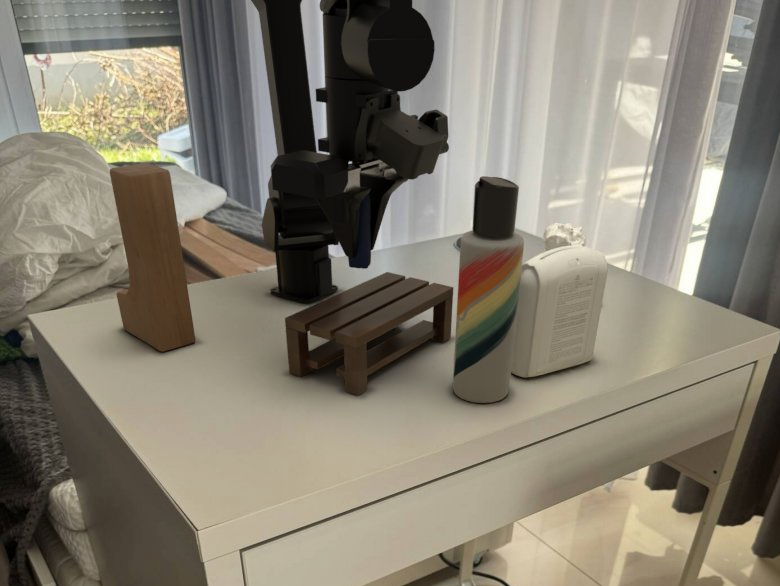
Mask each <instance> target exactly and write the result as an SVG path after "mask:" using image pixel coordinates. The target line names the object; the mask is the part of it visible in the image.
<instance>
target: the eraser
mask: <svg viewBox="0 0 780 586" xmlns="http://www.w3.org/2000/svg"><path fill="white" fill-rule="evenodd" d="M370 220H371V207H370V195H369V194H367V196H366V197H365V198H364V199H363V201H362V202H361V203H360V207H359V228H358V245H357V253H356V257H354V258H351V257H347V259H348V260H347V261H348V267H349V268H352V269H353V268H354V269H363V270H364V269H365V270H366V269H368V268H369V267H370V266H371V263H372V250H371V230H370Z"/></svg>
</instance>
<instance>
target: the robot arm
mask: <svg viewBox="0 0 780 586" xmlns="http://www.w3.org/2000/svg"><path fill="white" fill-rule="evenodd" d="M250 1H251V3H252V4H253V5H254V8H255V9H256V10H257V12H258V18H259V24H260V31H261V40H262V46H263V55H264V61H265V71H266V77H267V86H268V93H269V100H270V109H271V115H272V123H273V132H274V138H275V146H276V147H275V148H276V153H277V155H276V157H275V158H274V160H273V161H272V163H271V164H270V177H269V179H268V182H267V189H268V197H267V199H266V202H265V207H264V212H263V216H262V221H261V230H262V236H263V241H264V244H266V246H267V247H268V248H269V249H270V250H271V251H272V252H274V253H275V265H276V278H277V286H276V287H272V288H270V289H269V293H270V294H271V295H274V296H278V297H280V298H281V297H282V298H286V299H289V300H293V301H297V302H300V303H303V304H310V303H313V302H315V301H317V300H320V299H322V298H324V297H327V296H329V295H330V294H333V293H335V292H337V291H339V286H338V285H335V284H333V271H332V270H333V269H332V259H331V257H330V252H329V249H330V248H329V246H339V245H340V247H341V249H342V251H343V253H344V255H345V256H346V257H347V258H348V257H351V258H354V257H356V253H357V245H358V228H359V207H360V203H361V202H362V201H363V199H364V198H365V197H366V196H367V194H369V195H370V207H371V220H370V230H371V251H373V250H374V249H375V248H374V247H375V245H376V242H377V238H378V235H379V233H380V228H381V225H382V223H383V219H384V216H385V212H386V209H387V207H388V204H389V201H390V199H391V196H392V195H393V193H394V192H395V191H396V190H397V189H398V188H400V187H401V185H403V184H404V183H406V182H408V180H416V179H418V177H420V176H422V175H426V174H427V175H431V174H433V173H434V171H435V168H436V166H437V163H438V159H439V156H440V155H443V154H446V153H448V151H449V149H450V146H449V143H448V140H449V118H448V115H446V114H445V113H443V112H441V111H440V110H439V109H432V110H426V111H425V112H424V113H423V114H422V115H421V116H420V117H419V116H418V115H417V114H411V115H409V114H407V113H405V112H404V111H402V110H401V96H400V94H399V92H406V91H409V90H412V89H414V88H416V87H417V86H418V85H420V84H421V83H422V82H423V81H424V80H425V78H426V77H427V75H428V74H429V72H430V71H431V67H432V65H433V62H434V56H435V48H436V47H435V40H434V37H433V33H432V29H431V27H430V25H429V23H428V20H427V19H426V18H425V17H424V15H423V14H422V13H421V12H420V11H418V10H417V9H415V8H414V7H413V0H320V1H319V10H320V12H322V34H323V35H322V36H323V39H322V40H323V61H324V62H323V63H324V64H323V65H324V87H320V88H319V87H318V88H315V102H316V103H325V114H326V136H325V137H321V138H318V139H317V143H316V134H315V125H314V116H313V115H314V114H313V107H312V99H311V98H312V97H311V90H310V88H311V87H310V80H309V71H308V63H307V52H306V45H305V36H304V35H305V34H304V28H303V27H304V26H303V18H302V17H303V16H302V8H301V6H302V5H301V4H302V2H303V0H250ZM317 150H318V151H317ZM321 152H322V153H321ZM327 153H329V154H327Z"/></svg>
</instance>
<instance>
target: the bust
mask: <svg viewBox="0 0 780 586" xmlns="http://www.w3.org/2000/svg"><path fill="white" fill-rule="evenodd" d="M582 231H583V226H577V227H574V226H573V225H572V222H571V221H570V222H566V223H559V222H556V221H554V223H552V224H550V225H548V226H547V227H546V228H545V229H544V232H543V241H542V242H543V244H544V249H545V252H546V251H549V250H552V249H555V248H559V247H563V246H586V244H587V241H586V237H585V236H584V235H583V232H582Z"/></svg>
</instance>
